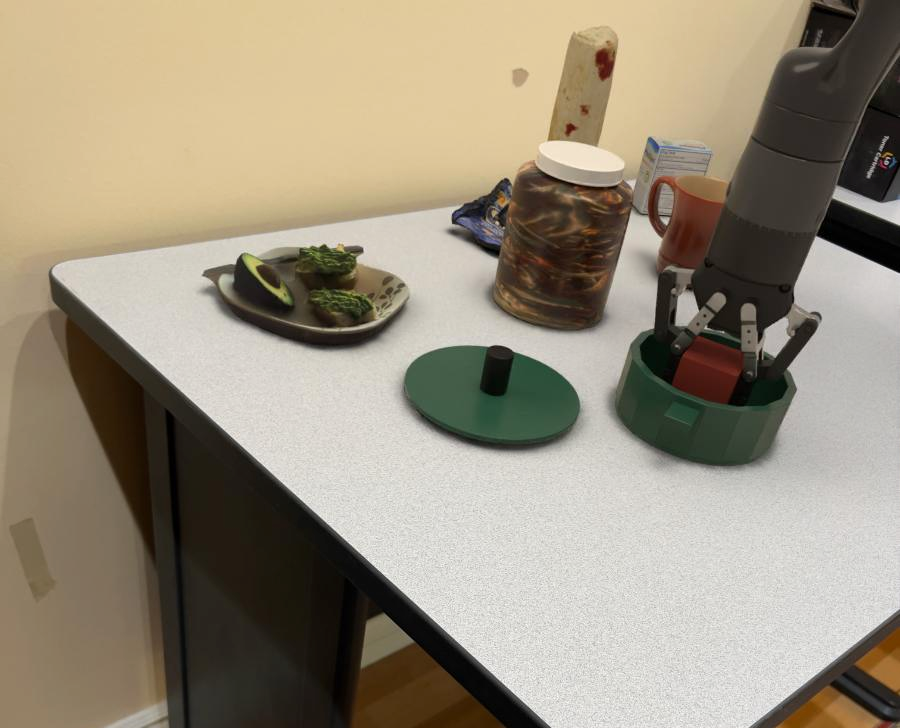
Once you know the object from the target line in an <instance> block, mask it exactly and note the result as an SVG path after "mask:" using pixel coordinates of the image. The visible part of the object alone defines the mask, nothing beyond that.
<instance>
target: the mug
mask: <svg viewBox="0 0 900 728" xmlns="http://www.w3.org/2000/svg"><path fill="white" fill-rule="evenodd" d="M729 182H730V181H727V180H725V179H720V178H717V177H712V176H708V175H706V176H702V175H691V174H690V175H681V176H678V177H676V178H675V177H672V176H662V177H659V178H658V179H656V180H655V181H654V183H653V185H652V187H651V190H650V193H649V198H648V214H647V216H648V220H649V223H650V225H651V228H652V229H653V230H654V232H655V233H656V235H657V236H658V237H659V238H661V239H662V240H661V242H660V246H659V248H658V255H657V257H656V258H657V259H656V270H657V272H658V274H659V275H660V274H661V273H662V271H663V270H664V269H665V268H666V267H668V266H669V265H670V264H677V265H678V266H679V267H680V268H682V269H693V270H696V269H697V267H698V266H699V265H701V263H702V262H703V260H704V258H705V255H706V252H707V249H708V247H709V244H710V241H711V238H712V235H713V232H714V229H715V226H716V223H717V221H718V218H719V215H720V212H721V209H722V206H723V203H724V200H725V197H726V190H727V187H728V184H729ZM664 183H665V184H667V185H668V186H670V188H671V190H672V192H673V193H674V198H673V207H672V212H671V215H669V219H668V221H667V224H666V223H664V221H663V220H662V219H661V217H660V216H661V215H659V212H658V204H659V197H660V193H661V189H662V187H663V185H664ZM686 289H692V286H691V284H687V285H686Z"/></svg>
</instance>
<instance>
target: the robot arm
mask: <svg viewBox="0 0 900 728" xmlns="http://www.w3.org/2000/svg"><path fill="white" fill-rule="evenodd" d="M810 1H811V2H814V3H816V4H819V5H822V6H825V7H828V8H832V9H836V10H838V11H841V12H844V13H848V14H851V15H854V16H856V17H855V19H854V21H853V23H852V24H851V26H850V27H849V29H848V30H847V32H846V33H845V34H844V36H842V38H841V39H840V40H839V41H838V42H837V43H836V44H835V45H834V46H833V47H821V46H819V47H818V46H801V47H795V48H793V49H790V50H788V51H787V52H785V53H784V54H783V55H782V56H781V57H780V58H779V60H778V61H777V63H776V65H775V67H774V69H773V72H772V73H771V76H770V78H769V81H768V85H767V88H766V90H765V94H764V96H763V99H762V102H761V105H760V108H759V111H758V114H757V117H756V119H755V121H754V125H753V128H752V130H751V133H750V135H749V138H748V141H747V143H746V145H745V147H744V149H743V151H742V154H741V156H740V158H739V160H738V162H737V164H736V167H735V169H734V171H733V174H732V177H731V180H730V181H728V182H729V184H728V187H727V190H726V197H725V200H724V203H723V206H722V209H721V212H720V215H719V218H718V221H717V223H716V226H715V229H714V232H713V235H712V238H711V241H710V244H709V247H708V249H707V252H706V255H705V258H704V260H703V262H702V263H701V265H699V266H698V267H697V269H696V270H693V269H682V268H680V267H679V266H678V265H677V264H670V265H669V266H668V267H666V268H665V269H664V270H663V271H662V273H661V274H660V273H659V274H658V277H657V287H656V300H655V314H654V322H653V323H654V324H653V328H654V338H655V339H656V340H657V341H660V342H661V341H663V342H664V343H665V344H666V345H667V346H668V347H669V349H670V354H669V357H668V360H667V363H666V366H665V369H664V372H663V375H662V377H661V379H662V380H663V381H665V382H666V383H668V384H670V385H671V386H672V383H673V380H674V377H675V374H676V372H677V369H678V366H679V363H680V360H681V358H682V356H683V354H684V353H685V352H686V350H687V349H688V348H689V346H690V344H691V342H692V341H693V340H694V339H695V338H696V337H697V336H698V334H699V333H700V332H701V331H702V330H703V329H708V330H713V331H718V332H723V333H724V332H726V333H728V334H729V335H731V336H732V337H734V338H737V339H740V340H741V355H742V374H741V375H740V377H739V378H738V381H737V383H736V386H735V388H734V390H733V393H732V395H731V398H730V400H729V403H728V405H732V406H737V407H742V406H745V405H746V403H747V401H748V399H749V396H750V394H751V392H752V389H753V387H754V385H755V382H756V381H758V380H768V381H769V382H776V381H778V380H779V378H780V377H781V376H782V375H783V373H784V372H785V371H786V369H787V370H788V368H789V367H790V365H791V364H792V363H793V362H794V360H796V358H797V357H798V356H799V354H800V353H801V352H802V350H803V349H804V348H805V347H806V346H807V344H808V343H809V342H810V340H811V339H812V337H813V336H814V335H815V334H816V333H817V331H818V328H819V327H820V324H821V323H822V320H823V317H822V314H821V313H820V312H819V311H817V310H816V311H815V310H813V311H811V312H808V311H807V310H805V309H804V308H802V307H801V306H799V305H797V304H796V303H795V286H796V283H797V281H798V279H799V277H800V274H801V272H802V270H803V267H804V265H805V263H806V260H807V259H808V255H809V253H810V250H811V248H812V246H813V244H814V241H815V239H816V237H817V234H818V232H819V230H820V228H821V225H822V223H823V221H824V219H825V217H826V215H827V212H828V208H829V206H830V204H831V202H832V200H833V196H834V194H835V192H836V188H837V185H838V183H839V182H838V181H839V178H840V175H841V171H842V168H843V165H844V162H845V159H846V158H847V155H848V152H849V151H850V148H851V146H852V144H853V141H854V139H855V137H856V134H857V132H858V130H859V126H860V124H861V123H862V119H863V117H864V114H865V112H866V110H867V107H868V105H869V103H870V102H871V100H872V99H873V96H874V95H875V93H876V91H877V90H878V88H879V86H880V85H881V84H882V82H883V80H884V79H885V78H886V76H887V74H888V73H889V71H891V69H892V67H893V65H894V64H895V62H896V61H897V60H898V58H899V57H900V0H810ZM687 284H691V286H692V288H691V289H692V292H693V296H694V299H695V303H696V306H697V309H698V310H697V311H698V312H697V313H696V314H695V316H694V317H693V318H692V319H691V320H690V322H688V324H687V325H685V326H686V328H685V329H684V330H683V331H682V330H680V329H679V328H678V327H677V326H678V325H676V323H677V310H678V300H679V296H681V295H682V294H683V293H684V291H686V289H687V288H686V285H687ZM783 318H787V320H788V325H787V327H786V335H787V336H788V337H790V338H789V339H788V340H787V341H786V343H785V344H784V345H783V347H782V348H781V350H780V351H779V352H778V353H777V355H776V356H775V359H774V360H763V351H764V346H765V341H766V329H768V328H769V327H771V326H772V325H774V324H776V323H777V322H779V321H781V320H782V319H783Z"/></svg>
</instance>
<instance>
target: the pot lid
mask: <svg viewBox="0 0 900 728" xmlns="http://www.w3.org/2000/svg"><path fill="white" fill-rule="evenodd" d="M403 384H404V391H405V394H406V396H407V398H408V400H409V401H410V403H411V405H413V407H414V409H416V410H417V411H418V412H419V413H420V414H421V415H423V416H424V417H425V418H426V419H428V420H429V421H431V422H432V423H434V424H436V425H438V426H439V427H441V428H444V429H445V430H447V431H450V432H452V433H455V434H458V435H460V436H463V437H466V438H469V439H473V440H477V441H482V442H485V443H486V442H487V443H493V444H502V445H503V444H504V445H530V444H537V443H542V442H545V441H549V440H553V439H555V438H558V437H560V436H562V435H563V434H565V433H566V432H568V431H569V430H570V429H571V428H572V427H573V426H575V424H576V422H577V420H578V417H579V415H580V412H581V401H580V397H579V394H578V392H577V390H576V389H575V387H574V386H573V385H572V383H571V382H570V381H569V380H568V379H567V378H566V377H565V376H563V374H561V373H560V372H558V371H557V370H555V369H554V368H552V367H551V366H550V365H547V364H546V363H544V362H542V361H540V360H537V359H536V358H533V357H531V356H528V355H525V354H522V353H519V352H516V351H513V349H511V348H510V347H508V346H506V345H499V344H493V345H490V346H486V345H485V346H484V345H471V344H470V345H467V344H465V345H451V346H445V347H441V348H436V349H433V350H430V351H428V352H425V353H423V354H420V356H418V357H416V358H415V359H414V360H412V362H411V363H410V364H409V366H408V367H407V368H406V371H405V374H404V381H403Z"/></svg>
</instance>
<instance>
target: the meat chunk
mask: <svg viewBox="0 0 900 728" xmlns="http://www.w3.org/2000/svg"><path fill="white" fill-rule="evenodd" d="M741 374H742V355H741V351H739V350H736V349H733V348H731V347H728V346H725V345H722V344H719V343H717V342H714V341H711V340H708V339H706V338H703V337H700V336H697V338H696V339H695V340H694V342H693V343H692V344H691V345H690V347H689V348H688V349H687V350H686V352H685V353H684V354H683V356H682V358H681V360H680V363H679V366H678V369H677V372H676V374H675V377H674V380H673V383H672V386H673V387H674V388H676V389H677V390H680V391H682V392H685V393H688V394H690V395H693V396H696V397H698V398H701V399H704V400H706V401H710V402H715V403H721V404H726V405H728V403H729V400H730V398H731V395H732V393H733V390H734V388H735V386H736V383H737V381H738V378H739V377H740V375H741Z"/></svg>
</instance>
